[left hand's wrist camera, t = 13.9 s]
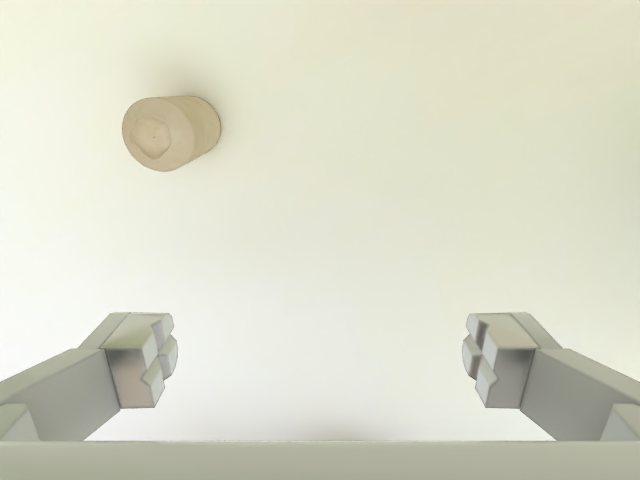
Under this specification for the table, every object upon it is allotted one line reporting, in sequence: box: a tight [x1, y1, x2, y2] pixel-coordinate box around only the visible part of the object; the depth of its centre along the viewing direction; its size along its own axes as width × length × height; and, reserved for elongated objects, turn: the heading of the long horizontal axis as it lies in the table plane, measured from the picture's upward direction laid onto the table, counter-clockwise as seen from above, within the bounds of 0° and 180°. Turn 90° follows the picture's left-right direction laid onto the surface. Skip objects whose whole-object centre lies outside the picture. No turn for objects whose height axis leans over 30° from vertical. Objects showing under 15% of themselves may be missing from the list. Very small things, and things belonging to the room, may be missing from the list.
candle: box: [122, 96, 221, 171], centre depth 32 cm, size 6×6×10 cm
